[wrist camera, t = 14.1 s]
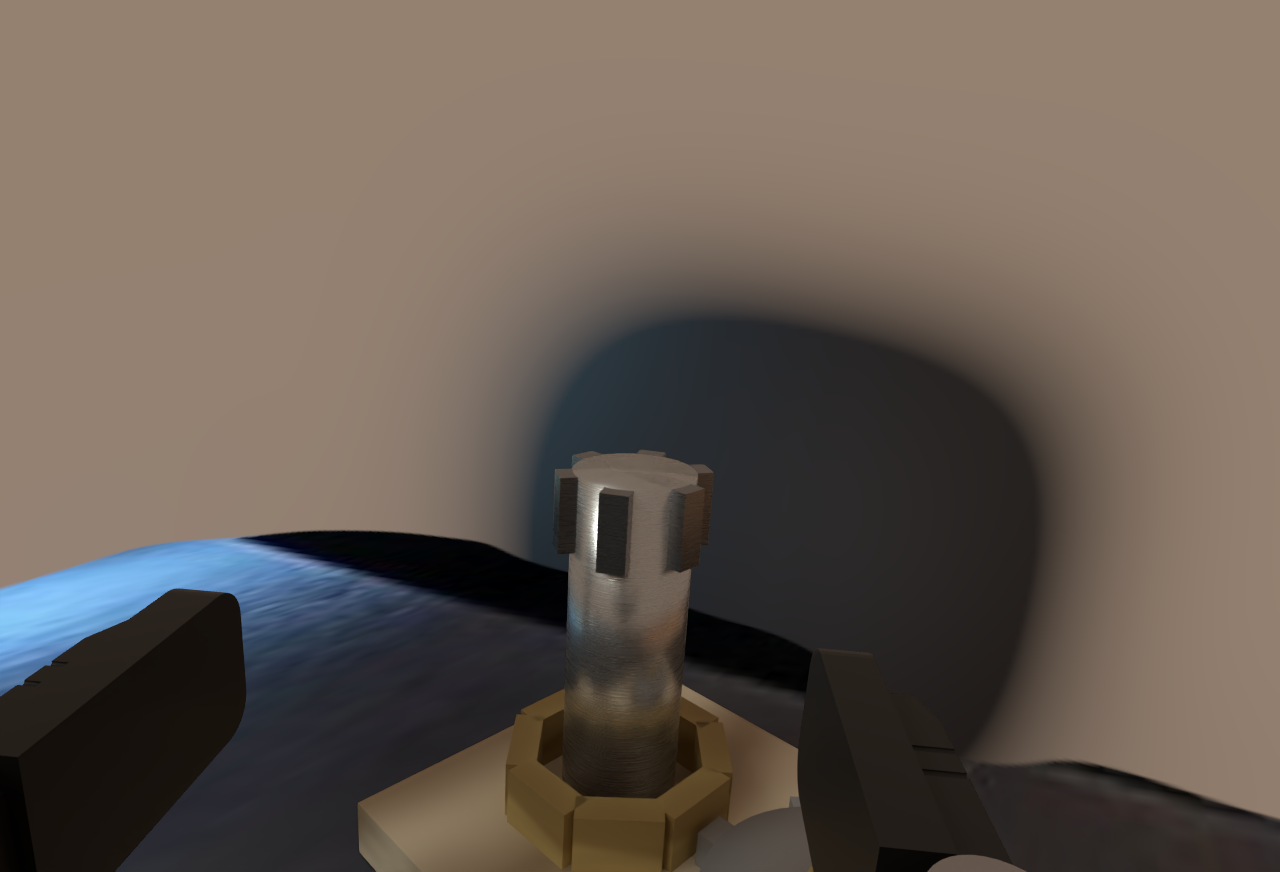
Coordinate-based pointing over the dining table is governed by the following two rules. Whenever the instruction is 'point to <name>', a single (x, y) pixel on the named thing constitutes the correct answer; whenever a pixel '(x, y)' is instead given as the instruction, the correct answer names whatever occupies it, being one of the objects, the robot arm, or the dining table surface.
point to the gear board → (477, 791)
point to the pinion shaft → (627, 614)
